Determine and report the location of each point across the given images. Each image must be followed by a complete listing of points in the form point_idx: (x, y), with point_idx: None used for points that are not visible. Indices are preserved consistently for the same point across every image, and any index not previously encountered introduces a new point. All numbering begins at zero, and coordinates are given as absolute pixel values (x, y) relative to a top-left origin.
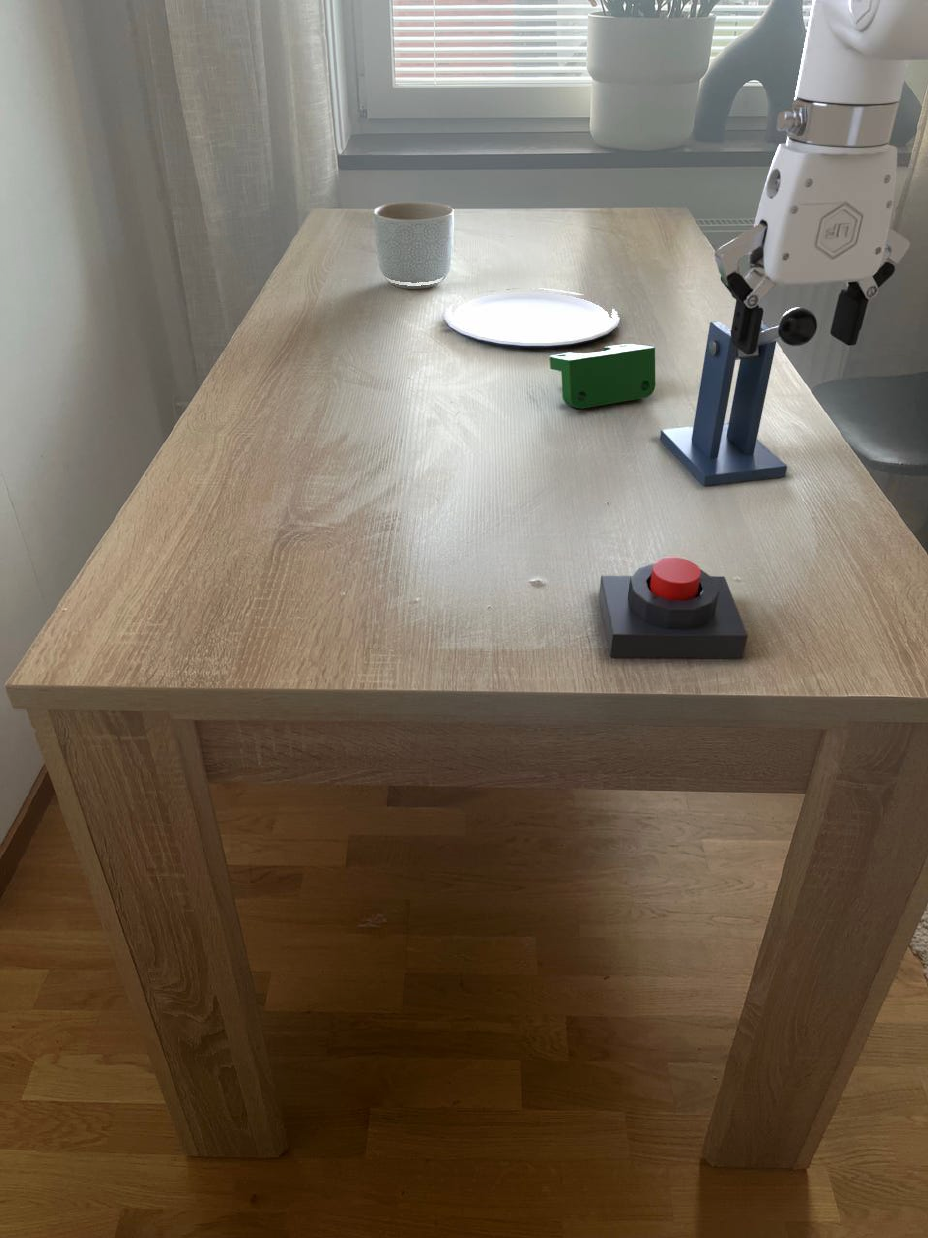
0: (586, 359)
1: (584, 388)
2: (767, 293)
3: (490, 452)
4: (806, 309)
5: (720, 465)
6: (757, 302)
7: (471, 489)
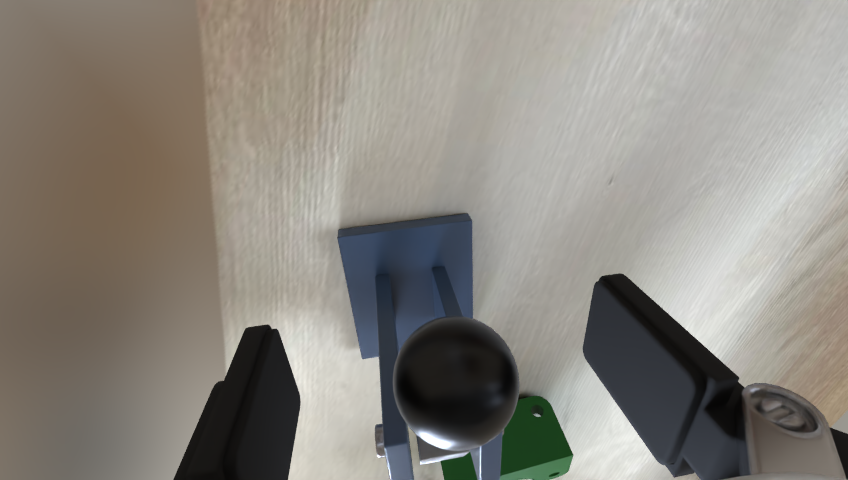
0: (547, 459)
1: (537, 420)
2: (749, 448)
3: (671, 311)
4: (451, 432)
5: (437, 246)
6: (751, 406)
7: (738, 231)
